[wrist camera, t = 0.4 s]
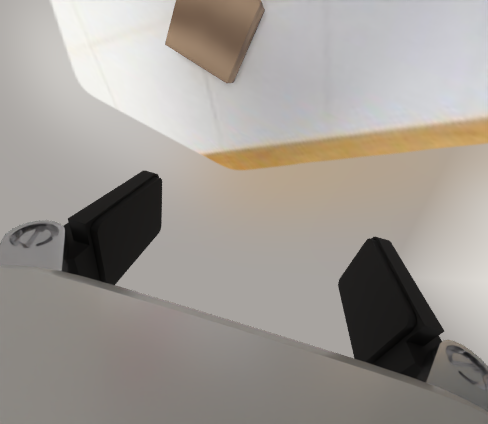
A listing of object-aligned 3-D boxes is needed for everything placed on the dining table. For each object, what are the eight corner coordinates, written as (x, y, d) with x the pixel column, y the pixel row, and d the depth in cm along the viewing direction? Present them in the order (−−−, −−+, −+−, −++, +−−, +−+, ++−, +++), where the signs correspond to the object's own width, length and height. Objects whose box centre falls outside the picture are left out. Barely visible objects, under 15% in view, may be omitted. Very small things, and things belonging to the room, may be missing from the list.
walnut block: (201, -34, 27) (188, -50, 24) (264, 10, 28) (261, 0, 25) (178, 47, 32) (165, 44, 28) (233, 82, 33) (226, 83, 29)
